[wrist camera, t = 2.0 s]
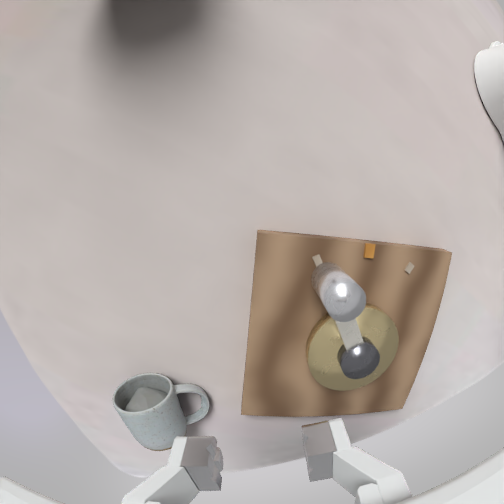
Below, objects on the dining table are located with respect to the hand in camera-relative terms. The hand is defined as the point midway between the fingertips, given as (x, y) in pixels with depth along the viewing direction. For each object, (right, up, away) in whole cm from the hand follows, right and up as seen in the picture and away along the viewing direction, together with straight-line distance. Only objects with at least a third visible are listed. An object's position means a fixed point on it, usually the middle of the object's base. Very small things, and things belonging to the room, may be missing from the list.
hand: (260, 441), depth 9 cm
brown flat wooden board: (+10, -2, +22) cm, 24 cm away
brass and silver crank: (+9, 0, +19) cm, 21 cm away
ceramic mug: (-11, -11, +24) cm, 29 cm away
